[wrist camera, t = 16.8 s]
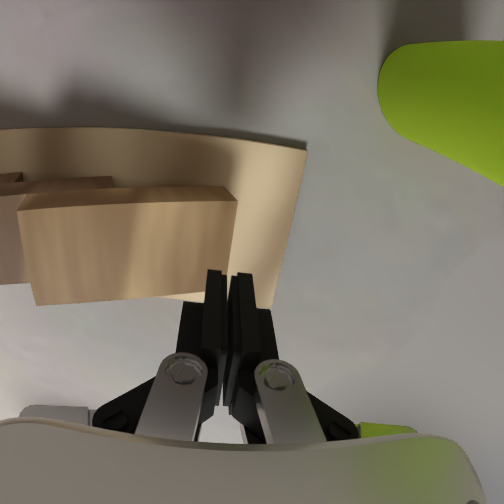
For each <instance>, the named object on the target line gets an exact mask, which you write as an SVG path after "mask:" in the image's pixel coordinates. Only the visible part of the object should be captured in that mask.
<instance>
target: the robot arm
mask: <svg viewBox="0 0 504 504" xmlns="http://www.w3.org/2000/svg"><path fill="white" fill-rule="evenodd" d="M222 383H223V406H229V415H232V416H233V417H234V418H235V419H236V420H237V421H239V422H240V430H241V435H242V439H243V443H244V444H226V443H208V442H199V438H200V434H201V429H202V423H203V422H204V421H206V420H207V419H209V418H210V417H211V416H213V414H214V407H215V405H216V406H219V400H220V394H221V388H222ZM0 504H488V501H487V498H486V495H485V493H484V490H483V488H482V485H481V483H480V480H479V478H478V476H477V473H476V471H475V469H474V467H473V465H472V463H471V461H470V459H469V457H468V456H467V454H466V453H465V451H464V450H463V448H462V447H461V446H460V445H459V444H458V443H457V442H455V441H454V440H451V439H449V438H447V437H443V436H439V435H434V434H427V433H418V432H417V431H416V430H414V429H413V428H411V427H408V426H400V425H386V424H374V423H365V422H360V423H359V424H358V425H357V424H354V423H353V422H352V421H351V420H349V419H348V418H346V417H345V416H343V415H342V414H340V413H339V412H337V411H336V410H334V409H333V408H331V407H330V406H328V405H327V404H325V403H324V402H322V401H320V400H319V399H318V398H316V397H315V396H313V395H312V394H310V393H309V392H307V391H306V389H305V387H304V384H303V382H302V379H301V377H300V374H299V373H298V371H297V369H296V368H295V367H293V366H292V365H291V364H289V363H287V362H285V361H282V360H279V356H278V350H277V345H276V339H275V333H274V327H273V321H272V316H271V311H270V310H269V309H259V308H256V300H255V291H254V283H253V275H252V274H251V273H241V272H238V273H237V276H233V275H232V276H231V281H230V287H229V294H228V300H227V275H223V274H222V270H212V269H207V278H206V288H205V298H204V303H195V302H186V301H184V302H183V308H182V314H181V320H180V327H179V333H178V340H177V347H176V353H174V354H171V355H169V356H167V357H166V358H165V359H163V361H162V363H161V364H160V366H159V369H158V372H157V374H156V376H155V377H154V378H152V379H150V380H148V381H146V382H145V383H143V384H141V385H139V386H137V387H136V388H134V389H132V390H130V391H128V392H127V393H125V394H123V395H121V396H119V397H117V398H115V399H114V400H112V401H110V402H108V403H106V404H104V405H102V406H101V407H100V408H98V409H97V410H89V409H88V407H70V406H47V405H30V406H28V407H26V408H24V409H23V410H22V412H21V413H20V415H19V417H17V418H9V419H5V420H1V421H0Z"/></svg>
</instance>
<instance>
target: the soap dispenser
mask: <svg viewBox="0 0 504 504" xmlns="http://www.w3.org/2000/svg"><path fill="white" fill-rule="evenodd" d="M378 97H379V102H380V106H381V109H382V111H383V114H384V116H385V118H386V119H387V121H388V122H389V124H390V125H391V126H392V128H393V129H394V130H395V131H396V132H397V133H399V134H400V135H401V136H403V137H404V138H406V139H408V140H411V141H413V142H415V143H417V144H420V145H422V146H424V147H426V148H429V149H431V150H433V151H435V152H437V153H439V154H442V155H444V156H446V157H448V158H450V159H452V160H454V161H456V162H458V163H460V164H462V165H464V166H466V167H468V168H470V169H472V170H473V171H475V172H477V173H479V174H481V175H483V176H485V177H486V178H488V179H490V180H492V181H494V182H495V183H497V184H499V185H500V186H502V187H504V41H485V40H474V41H443V42H428V43H417V44H408V45H404V46H402V47H400V48H398V49H396V50H395V51H393V52H392V53H391V54H390V55H389V56H388V58H387V59H386V60H385V62H384V64H383V66H382V68H381V71H380V74H379V79H378Z"/></svg>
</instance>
